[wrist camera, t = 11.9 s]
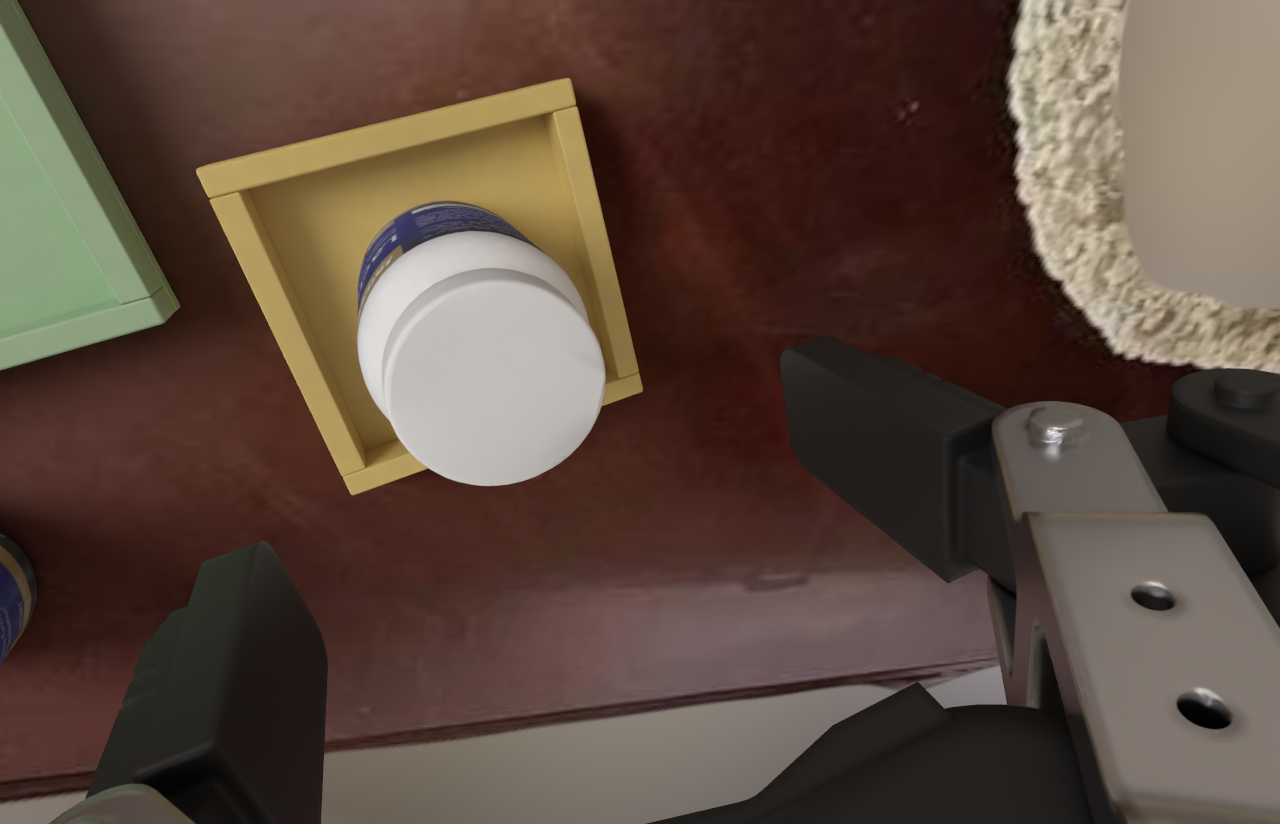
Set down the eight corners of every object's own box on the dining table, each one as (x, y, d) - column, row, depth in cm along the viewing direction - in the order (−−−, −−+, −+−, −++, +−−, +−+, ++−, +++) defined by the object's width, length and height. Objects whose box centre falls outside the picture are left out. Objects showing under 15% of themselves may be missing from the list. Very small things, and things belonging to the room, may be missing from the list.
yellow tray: (207, 164, 20) (193, 168, 19) (555, 79, 23) (571, 76, 21) (351, 470, 25) (351, 497, 23) (626, 374, 27) (644, 391, 26)
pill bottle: (345, 198, 21) (338, 256, 13) (532, 197, 23) (635, 246, 15) (368, 377, 24) (374, 529, 15) (537, 362, 25) (629, 490, 17)
